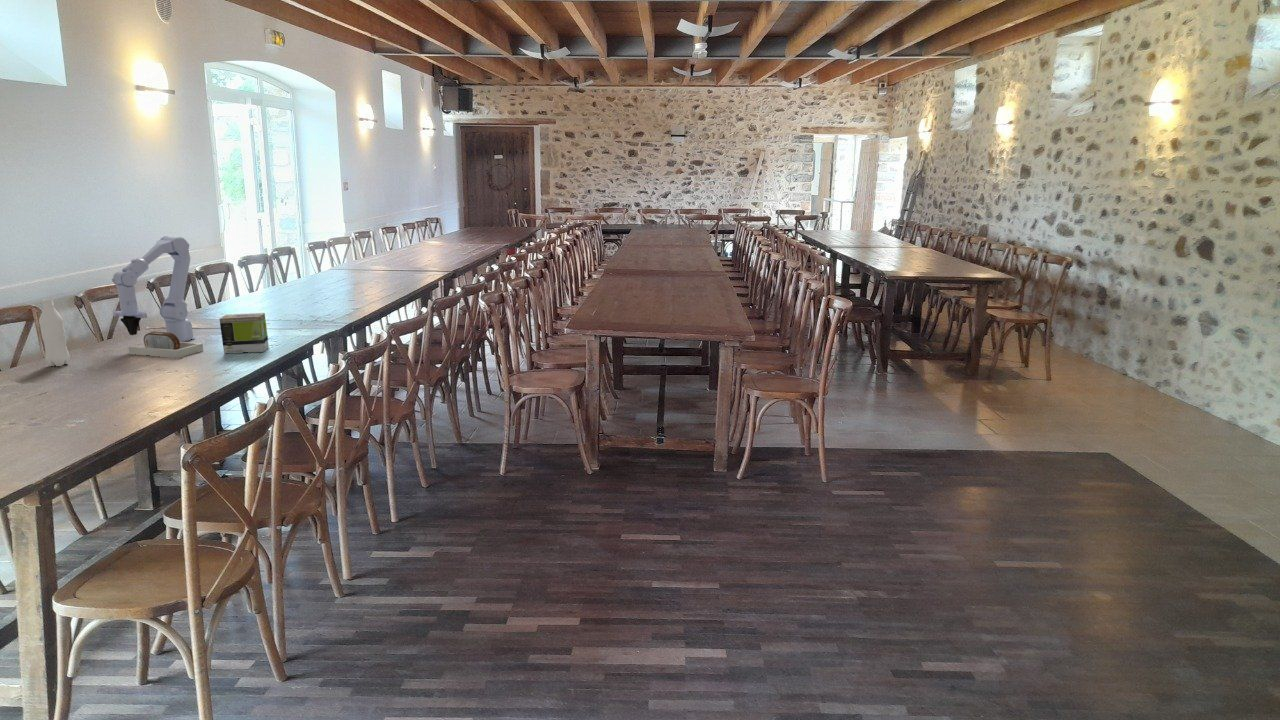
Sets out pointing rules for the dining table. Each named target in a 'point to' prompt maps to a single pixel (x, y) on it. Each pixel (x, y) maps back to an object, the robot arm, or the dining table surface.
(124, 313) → the robot arm
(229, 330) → the tea box
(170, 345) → the tin
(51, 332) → the water bottle
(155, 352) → the box
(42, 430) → the dining table surface
